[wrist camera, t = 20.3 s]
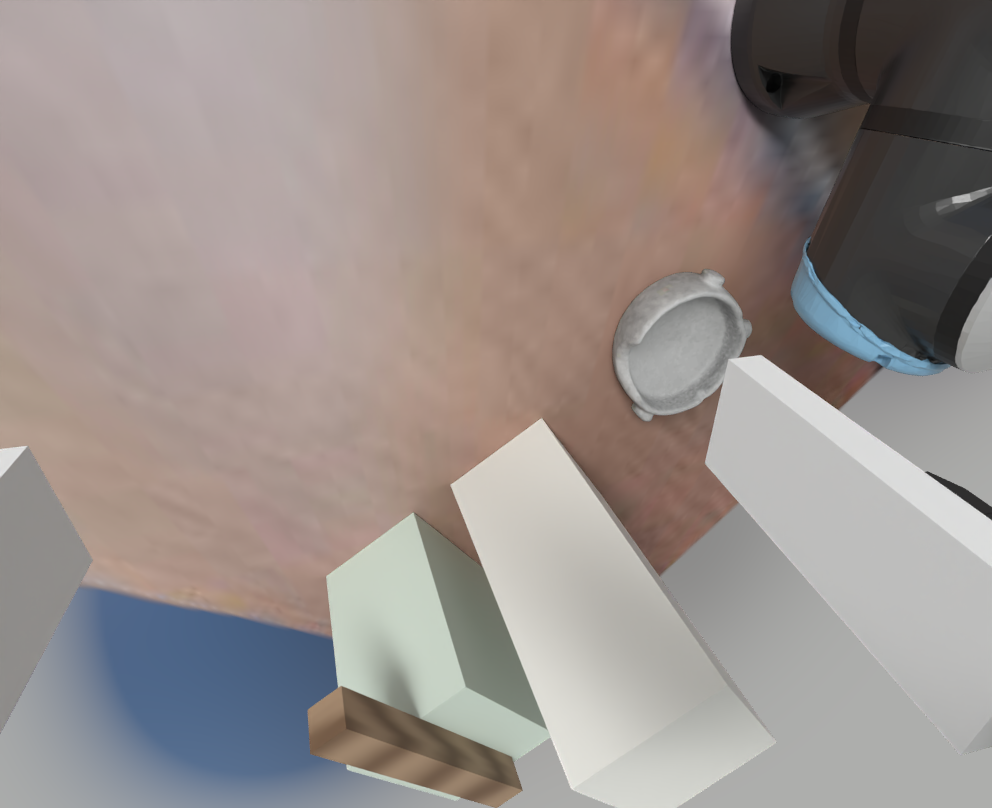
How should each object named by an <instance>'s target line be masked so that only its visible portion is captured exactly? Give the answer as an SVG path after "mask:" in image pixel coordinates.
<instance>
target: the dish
mask: <svg viewBox="0 0 992 808" xmlns="http://www.w3.org/2000/svg"><path fill="white" fill-rule="evenodd" d="M724 282H725V279H724V277H722V276H721V275H720V274H719V273H717V272H716V271H714V270H710V269H704V270H703V271H702V273H701V274H697V273H692V272H682V273H675V274H672V275H669V276H667V277H664V278H662V279H660V280H658V281H657V282H655V283H653V284H652V285H650V286H649V287H647V288H646V289H645V290H644V291H643V292H641V293H640V294H639V295H638V296H637V297H636V298H635V299H634V300H633V301H632V303H631V304H630V305H629V307H628V308H627V310H626V311H625V313H624V314H623V316H622V318H621V320H620V322H619V325H618V327H617V330H616V333H615V337H614V342H613V366H614V370H615V373H616V376H617V378H618V380H619V382H620V384H621V386H622V387H623V389H624V391H625V392H626V394H627V395H628V396H629V397H630V398H631V400H632V401H633V402H634V403H633V405H632V410H633V411H634V412H635V413H636V415H637V416H638V417H639V418H641V419H642V420H643V421H650V420H652V417H653V415H672V414H676V413H680V412H683V411H685V410H689V409H691V408H693V407H695V406H697V405H699V404H700V403H701V402H702V401H703V399H705V398H707V397H708V396H710V395H711V394H713V393H714V392H715V391H716V390H717V389H718V388H719V386H720V385H721V384H722V383H723V381H724V377H725V372H726V368H727V363H728V359H734V358H739V356H740V354H741V352H742V350H743V348H744V345H745V342H746V338H748V337H749V336H750V334H751V332H752V325H751V323H750V321H749V320H746V319H743V317H742V311H741V309H740V307H739V305H738V303H737V302H736V300H735V299H734V298H733V297H732V296H731V295H730V294H729V293H728V291H727V290H725V289H724V288H723V287H722V285H723V284H724Z"/></svg>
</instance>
